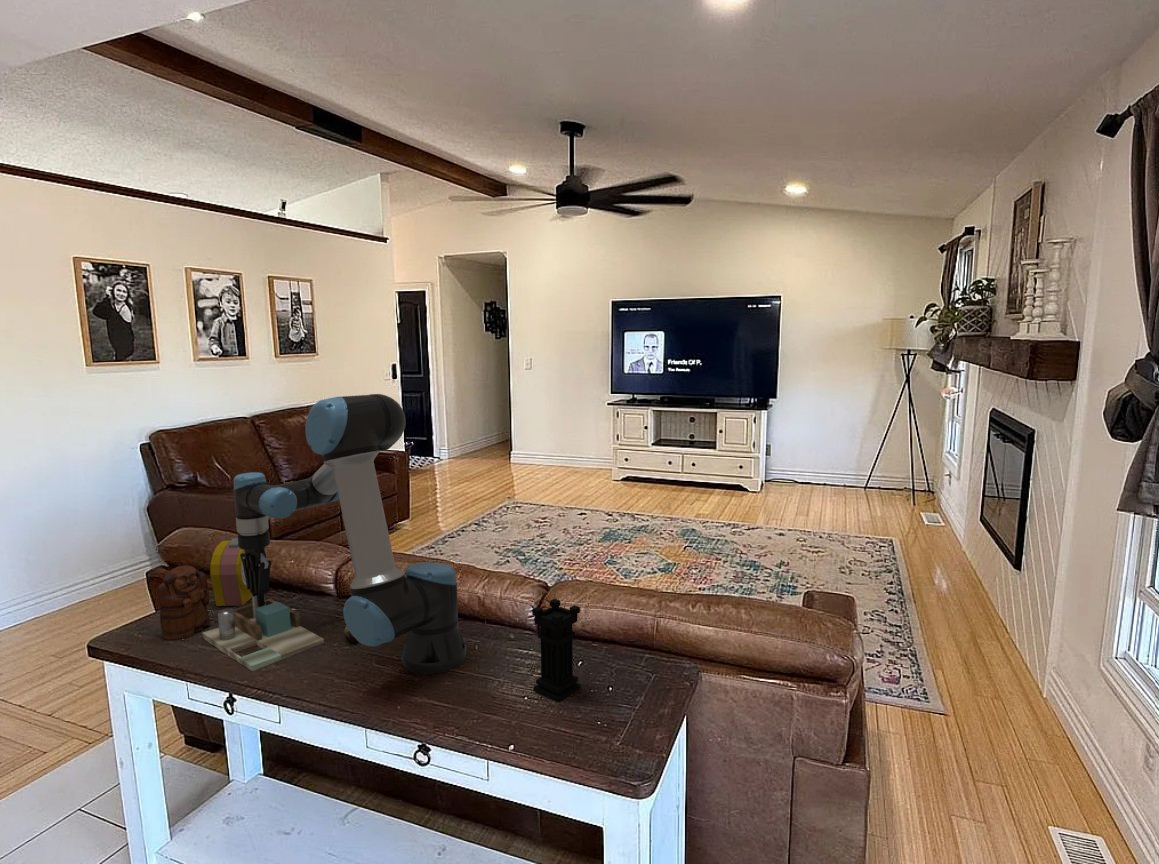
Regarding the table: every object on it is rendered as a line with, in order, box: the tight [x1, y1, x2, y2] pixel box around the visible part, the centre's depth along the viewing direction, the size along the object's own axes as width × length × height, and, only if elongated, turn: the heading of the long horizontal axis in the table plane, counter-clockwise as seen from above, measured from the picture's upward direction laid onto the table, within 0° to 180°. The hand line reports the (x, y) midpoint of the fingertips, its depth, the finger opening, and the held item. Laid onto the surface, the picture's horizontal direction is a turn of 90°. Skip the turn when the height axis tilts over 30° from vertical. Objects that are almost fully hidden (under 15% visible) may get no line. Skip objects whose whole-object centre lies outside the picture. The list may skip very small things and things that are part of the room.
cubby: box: [233, 598, 301, 641], centre depth 175 cm, size 16×11×4 cm
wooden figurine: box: [157, 565, 212, 641], centre depth 173 cm, size 12×6×18 cm, turn 160°
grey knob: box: [216, 608, 236, 641], centre depth 167 cm, size 4×4×7 cm
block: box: [255, 601, 291, 637], centre depth 171 cm, size 6×6×6 cm
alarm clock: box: [209, 537, 252, 607], centre depth 196 cm, size 15×8×18 cm, turn 2°
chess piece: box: [531, 598, 582, 703], centre depth 141 cm, size 8×8×20 cm
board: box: [201, 618, 325, 672], centre depth 169 cm, size 28×18×2 cm, turn 51°
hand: (259, 616), depth 176 cm, fingers closed
